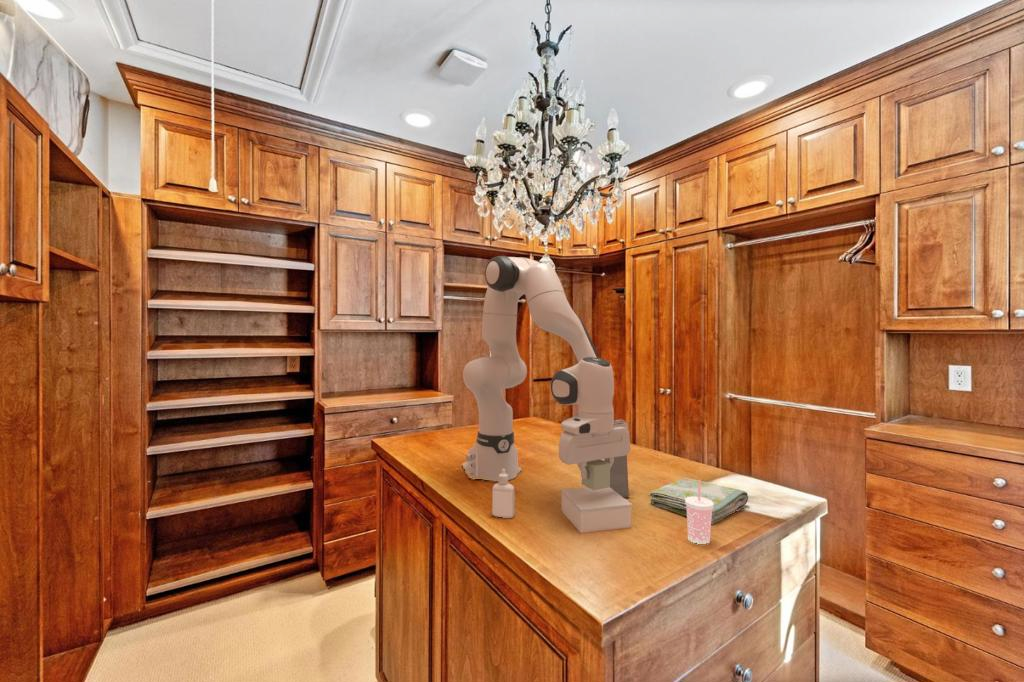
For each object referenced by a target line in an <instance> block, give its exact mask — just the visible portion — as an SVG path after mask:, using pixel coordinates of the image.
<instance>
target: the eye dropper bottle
mask: <svg viewBox="0 0 1024 682" xmlns="http://www.w3.org/2000/svg"><path fill="white" fill-rule="evenodd" d="M491 493H492V498H491V499H492V501H491V502H492V503H491V508H492V509H491V511H492V512H491V514H492V516H493V515H494V516H498V517H503V518H502V519H512V518H514V516H515V500H516V499H515V495H516V494H515V486H514V485H513V484H511V483H510V482H509V480H508V474H506V473H505V469H502V473H501V474H499V481H498V482H497V483H495V484H494V485H493V486H492V491H491ZM494 516H493V517H494Z"/></svg>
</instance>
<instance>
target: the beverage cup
mask: <svg viewBox="0 0 1024 682" xmlns="http://www.w3.org/2000/svg"><path fill="white" fill-rule="evenodd" d="M700 492H701V479H700V478H699V479H698V497H687V498H685V504H686V508H687V516H686V523H687V524H686V525H687V526H686V527H687V540H688V541H689V540H690V541H691V542H690V541H689V542H690V543H692V542H693V543H692V544H694V543H697V544H696V545H698V544H706V543H709V544H710V540H711V539H710V538H711V528H712V525H711V519H712V509H713V508H714V507H713V506H714V503H713V502H712V501H711V500H709V499H707V498H703V497H700Z"/></svg>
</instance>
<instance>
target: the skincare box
mask: <svg viewBox="0 0 1024 682" xmlns="http://www.w3.org/2000/svg"><path fill="white" fill-rule="evenodd" d="M603 461H605V462H606V460H605V459H603ZM628 474H629V471H628V455H625V456H619V457H614V462H613V464H612V466H611V468H610V488H611V489H613V490H614V491H615V492H617V493H618V494H619V495H621V496H622V497H623V498H625V499H626V498H629V497H630V494H629V493H630V492H629V476H628Z"/></svg>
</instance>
